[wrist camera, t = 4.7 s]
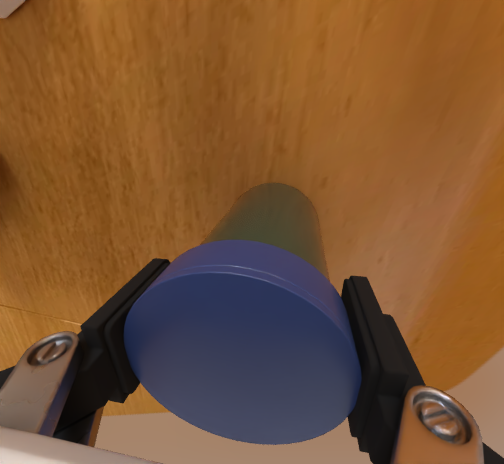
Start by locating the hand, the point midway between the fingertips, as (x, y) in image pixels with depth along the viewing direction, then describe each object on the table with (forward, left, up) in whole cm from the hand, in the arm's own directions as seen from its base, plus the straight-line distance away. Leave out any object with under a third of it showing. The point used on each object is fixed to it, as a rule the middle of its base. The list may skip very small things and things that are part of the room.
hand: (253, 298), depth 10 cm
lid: (0, 0, +3) cm, 3 cm away
